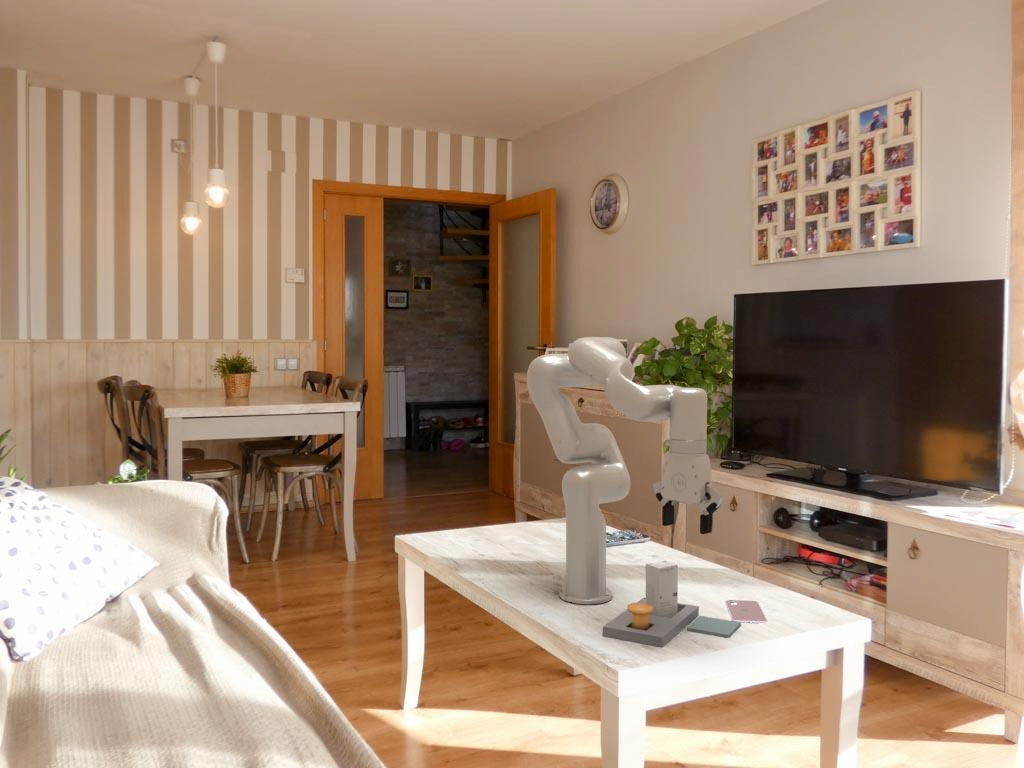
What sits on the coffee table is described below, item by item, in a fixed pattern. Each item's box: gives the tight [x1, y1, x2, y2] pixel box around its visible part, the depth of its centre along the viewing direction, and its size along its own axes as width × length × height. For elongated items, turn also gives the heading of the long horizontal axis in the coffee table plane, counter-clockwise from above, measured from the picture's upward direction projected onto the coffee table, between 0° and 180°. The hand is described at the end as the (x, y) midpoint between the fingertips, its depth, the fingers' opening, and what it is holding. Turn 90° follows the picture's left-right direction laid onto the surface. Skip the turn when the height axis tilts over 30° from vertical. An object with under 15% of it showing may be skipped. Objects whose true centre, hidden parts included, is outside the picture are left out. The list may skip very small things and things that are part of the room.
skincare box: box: [645, 560, 679, 618], centre depth 188 cm, size 6×4×12 cm
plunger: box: [627, 602, 653, 630], centre depth 177 cm, size 5×5×4 cm
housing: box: [602, 597, 700, 648], centre depth 183 cm, size 13×23×2 cm, turn 150°
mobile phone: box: [724, 599, 768, 624], centre depth 192 cm, size 8×1×15 cm
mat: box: [686, 615, 742, 639], centre depth 182 cm, size 9×9×1 cm
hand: (686, 529), depth 177 cm, fingers open, 9 cm apart
